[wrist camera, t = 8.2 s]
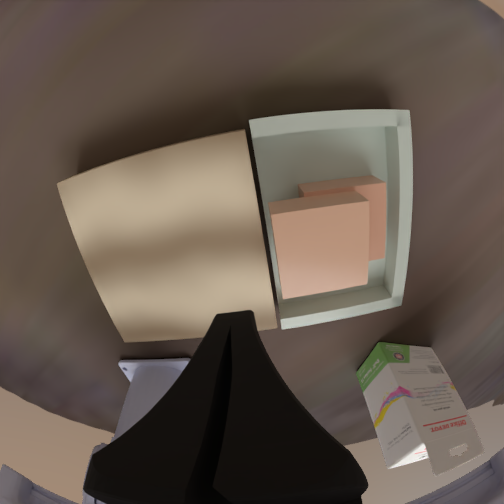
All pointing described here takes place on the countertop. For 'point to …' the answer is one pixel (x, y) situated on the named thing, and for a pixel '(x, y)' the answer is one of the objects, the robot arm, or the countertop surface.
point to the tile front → (321, 242)
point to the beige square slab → (173, 237)
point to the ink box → (416, 408)
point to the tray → (337, 167)
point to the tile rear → (367, 188)
